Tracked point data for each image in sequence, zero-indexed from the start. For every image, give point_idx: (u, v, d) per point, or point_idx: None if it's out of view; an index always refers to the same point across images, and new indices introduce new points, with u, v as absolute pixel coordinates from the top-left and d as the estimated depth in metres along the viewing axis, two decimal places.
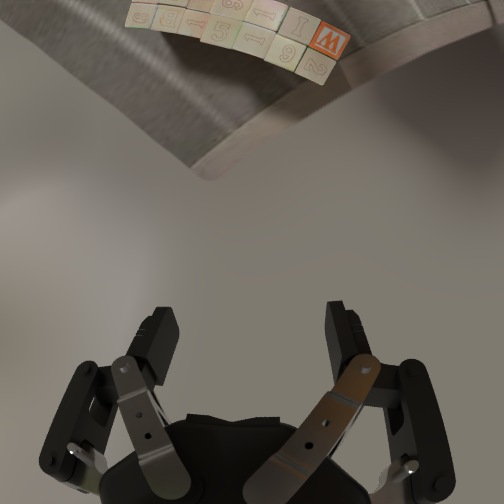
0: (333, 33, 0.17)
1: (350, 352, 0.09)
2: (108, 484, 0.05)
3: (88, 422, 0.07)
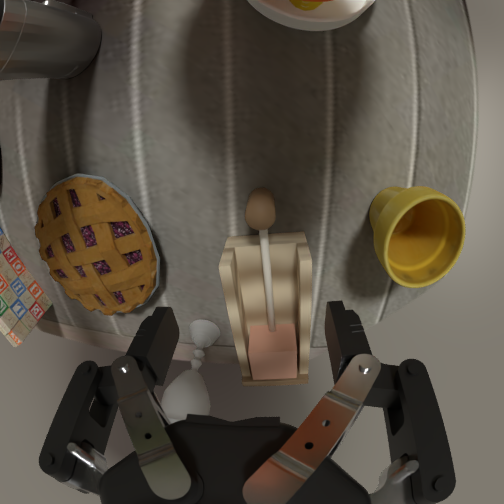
0: (16, 336, 0.32)
1: (350, 352, 0.09)
2: (108, 484, 0.05)
3: (88, 422, 0.07)
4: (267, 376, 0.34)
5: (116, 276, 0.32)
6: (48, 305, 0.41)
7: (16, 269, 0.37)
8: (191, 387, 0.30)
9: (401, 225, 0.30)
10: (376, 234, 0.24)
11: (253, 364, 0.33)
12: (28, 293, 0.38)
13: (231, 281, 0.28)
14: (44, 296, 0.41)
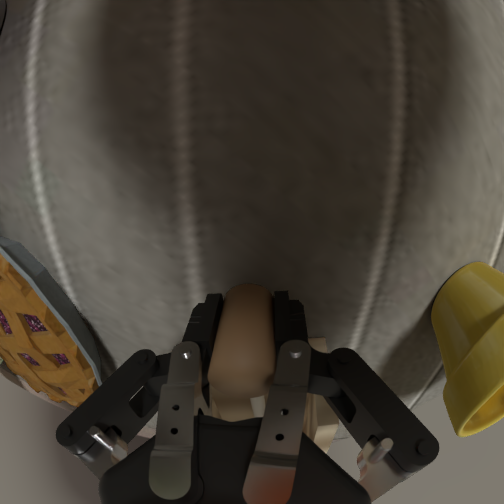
0: None
1: (284, 337, 0.11)
2: (108, 484, 0.05)
3: (124, 411, 0.08)
4: None
5: (47, 375, 0.18)
6: (0, 360, 0.26)
7: None
8: None
9: None
10: (458, 381, 0.10)
11: None
12: None
13: None
14: None
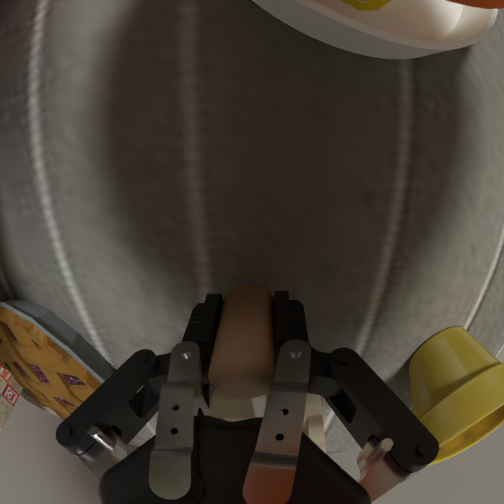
0: None
1: (284, 337, 0.11)
2: (108, 484, 0.05)
3: (124, 411, 0.08)
4: None
5: None
6: None
7: None
8: None
9: None
10: None
11: None
12: None
13: None
14: None
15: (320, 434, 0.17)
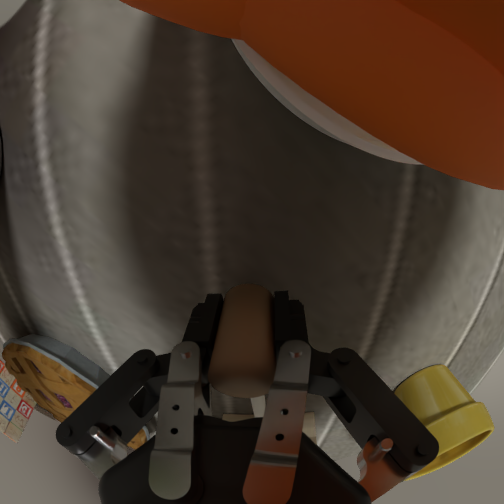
0: (10, 437, 0.22)
1: (284, 337, 0.11)
2: (108, 484, 0.05)
3: (124, 411, 0.08)
4: None
5: None
6: None
7: None
8: None
9: None
10: None
11: None
12: (12, 392, 0.28)
13: None
14: None
15: None
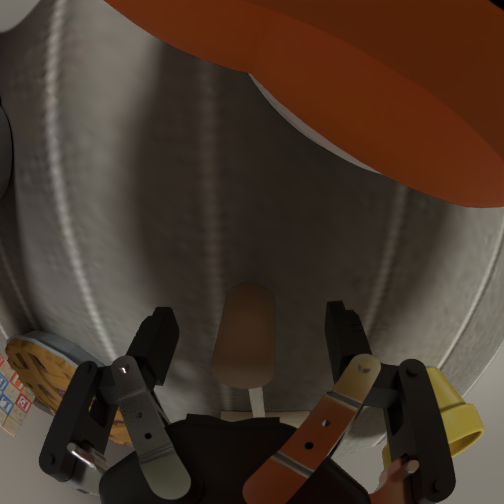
0: (8, 431, 0.22)
1: (350, 352, 0.09)
2: (108, 484, 0.05)
3: (88, 422, 0.07)
4: None
5: None
6: (34, 395, 0.32)
7: None
8: None
9: None
10: (387, 452, 0.16)
11: None
12: (11, 386, 0.28)
13: None
14: None
15: None
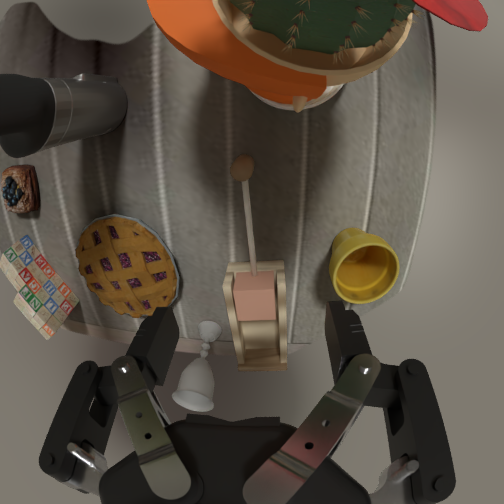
0: (49, 328, 0.44)
1: (350, 352, 0.09)
2: (108, 484, 0.05)
3: (88, 422, 0.07)
4: (250, 317, 0.42)
5: (146, 289, 0.45)
6: (76, 302, 0.53)
7: (47, 273, 0.49)
8: (201, 369, 0.43)
9: (357, 255, 0.44)
10: (330, 267, 0.38)
11: (237, 303, 0.41)
12: (58, 293, 0.50)
13: (231, 296, 0.42)
14: (72, 294, 0.53)
15: (282, 275, 0.42)
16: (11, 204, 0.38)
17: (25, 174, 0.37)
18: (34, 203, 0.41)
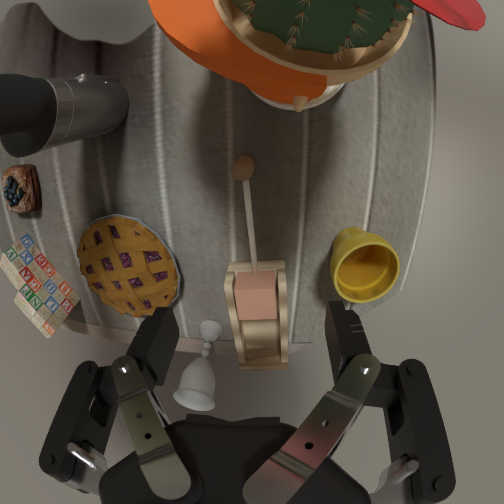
0: (50, 327, 0.44)
1: (350, 352, 0.09)
2: (108, 484, 0.05)
3: (88, 422, 0.07)
4: (251, 316, 0.42)
5: (147, 289, 0.46)
6: (76, 300, 0.53)
7: (48, 272, 0.49)
8: (203, 369, 0.43)
9: (358, 255, 0.44)
10: (330, 266, 0.38)
11: (238, 302, 0.41)
12: (59, 291, 0.50)
13: (232, 295, 0.42)
14: (73, 293, 0.53)
15: (283, 275, 0.42)
16: (12, 204, 0.39)
17: (26, 174, 0.37)
18: (36, 202, 0.41)
